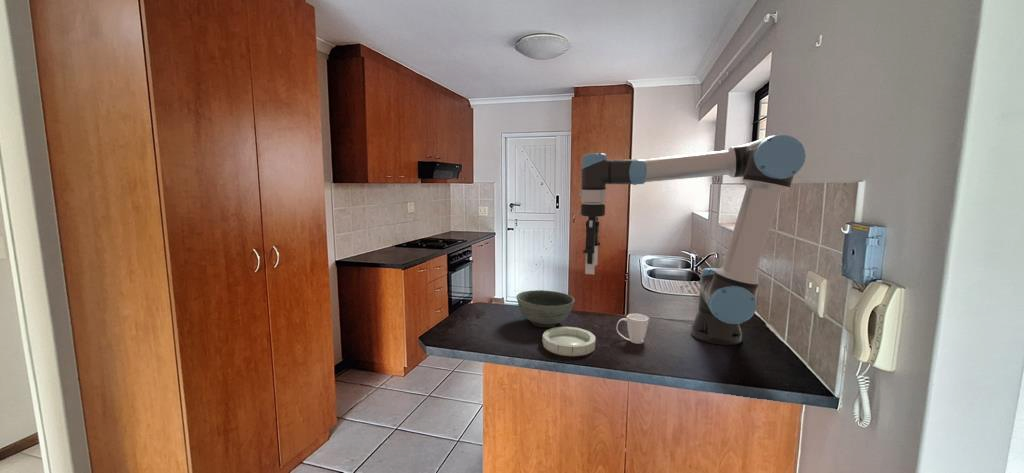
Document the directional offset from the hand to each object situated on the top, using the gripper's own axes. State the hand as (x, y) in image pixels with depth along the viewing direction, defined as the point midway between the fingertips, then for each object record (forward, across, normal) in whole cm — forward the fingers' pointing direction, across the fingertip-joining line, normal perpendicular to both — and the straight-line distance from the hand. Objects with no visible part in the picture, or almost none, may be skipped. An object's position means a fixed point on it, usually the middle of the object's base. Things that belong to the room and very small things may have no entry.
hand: (591, 269), depth 132 cm
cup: (+23, -1, +13) cm, 27 cm away
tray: (+23, +9, -6) cm, 25 cm away
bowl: (+23, -8, -17) cm, 29 cm away
